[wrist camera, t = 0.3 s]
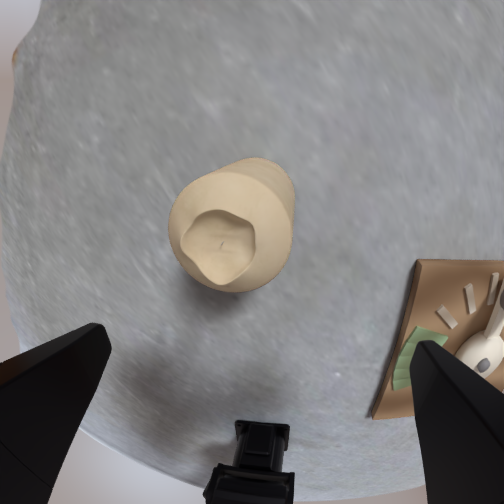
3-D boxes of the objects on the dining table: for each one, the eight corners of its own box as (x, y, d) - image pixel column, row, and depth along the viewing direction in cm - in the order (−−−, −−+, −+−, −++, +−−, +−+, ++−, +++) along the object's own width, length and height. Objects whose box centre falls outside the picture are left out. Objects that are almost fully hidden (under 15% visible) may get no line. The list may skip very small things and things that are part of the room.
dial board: (495, 391, 24) (498, 399, 23) (371, 412, 27) (372, 422, 26) (553, 261, 17) (561, 267, 16) (417, 259, 20) (423, 267, 19)
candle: (290, 237, 21) (281, 319, 12) (215, 228, 22) (157, 298, 12) (299, 161, 19) (300, 185, 10) (219, 154, 19) (152, 172, 10)
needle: (485, 370, 21) (502, 404, 17) (444, 378, 22) (459, 416, 18) (525, 273, 17) (557, 303, 12) (484, 274, 18) (516, 308, 13)
